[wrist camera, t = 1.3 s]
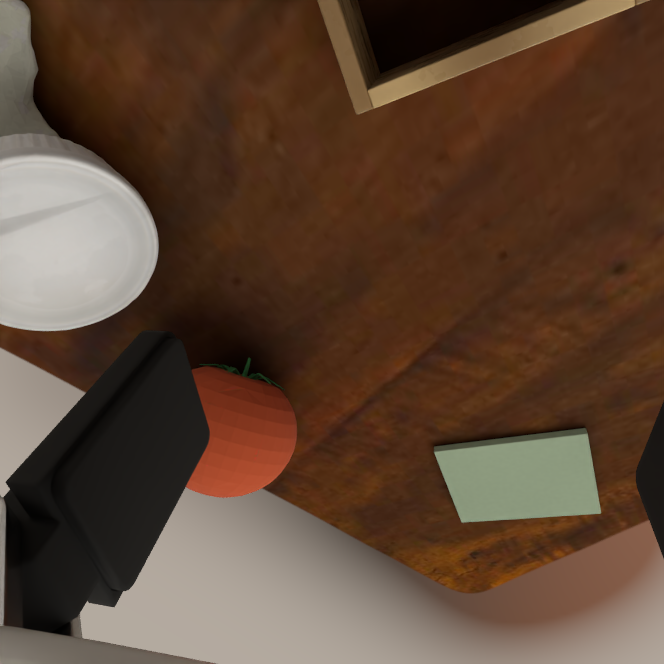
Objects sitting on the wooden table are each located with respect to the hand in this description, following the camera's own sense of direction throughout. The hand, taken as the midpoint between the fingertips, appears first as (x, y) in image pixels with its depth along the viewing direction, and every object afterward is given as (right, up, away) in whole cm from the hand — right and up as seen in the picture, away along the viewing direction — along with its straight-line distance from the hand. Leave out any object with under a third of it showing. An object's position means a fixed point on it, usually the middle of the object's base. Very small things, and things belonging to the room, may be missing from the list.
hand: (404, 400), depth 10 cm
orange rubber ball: (-11, -10, +25) cm, 29 cm away
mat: (+13, -10, +29) cm, 34 cm away
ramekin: (-19, +9, +20) cm, 29 cm away
